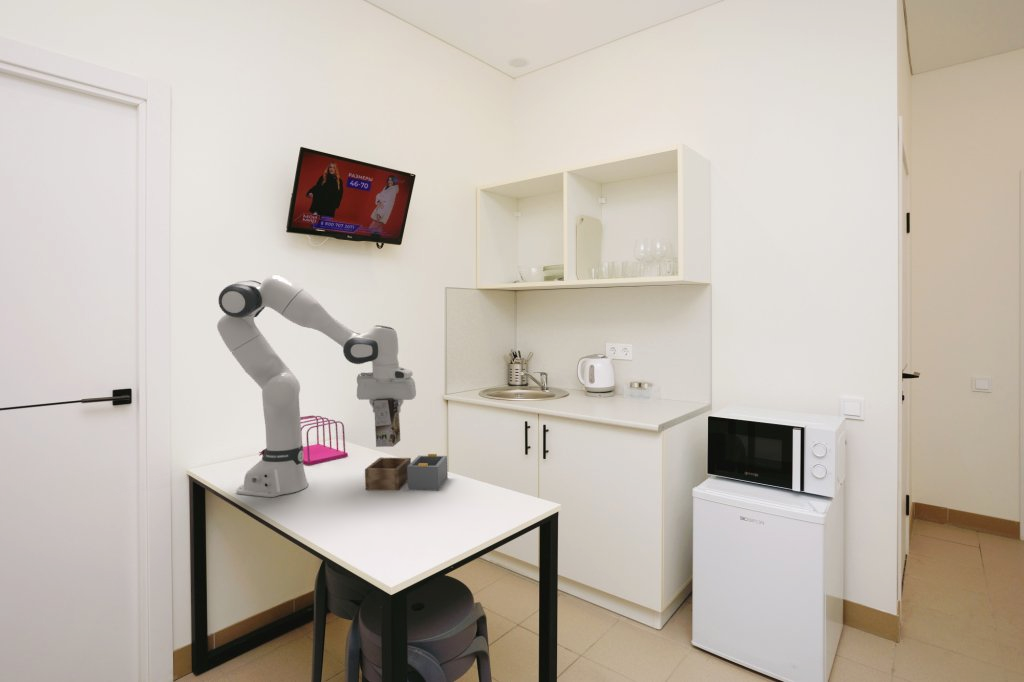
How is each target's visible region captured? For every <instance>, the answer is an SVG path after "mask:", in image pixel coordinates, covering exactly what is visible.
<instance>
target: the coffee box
mask: <svg viewBox="0 0 1024 682" xmlns="http://www.w3.org/2000/svg"><path fill="white" fill-rule="evenodd" d="M398 405H399V403H398V400H394V399H393V398H385V399H376V400H374V412H375V413H374V428H375V429H374V431H375V447H376V448H381V447H383V448H384V447H387V448H388V447H389V448H390V447H395V445H397V444H398V443H399V442H401V427H400V426H401V425H400V422H401V421H400V413H396V412H395V408H396V407H398Z"/></svg>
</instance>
